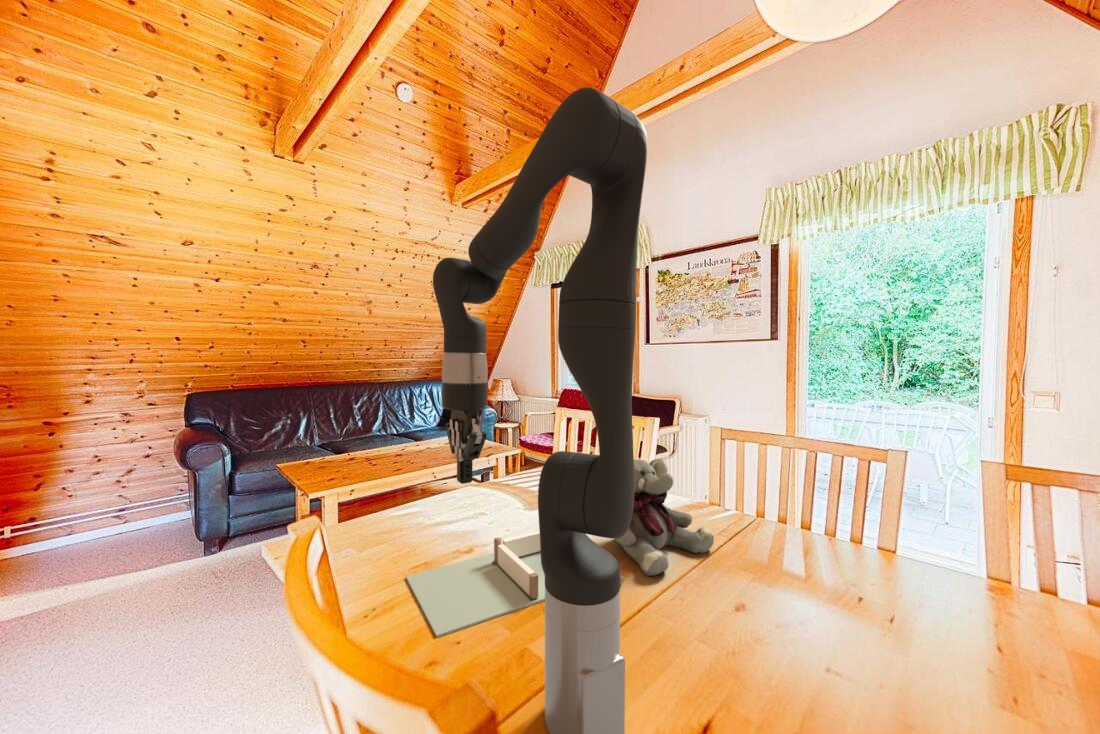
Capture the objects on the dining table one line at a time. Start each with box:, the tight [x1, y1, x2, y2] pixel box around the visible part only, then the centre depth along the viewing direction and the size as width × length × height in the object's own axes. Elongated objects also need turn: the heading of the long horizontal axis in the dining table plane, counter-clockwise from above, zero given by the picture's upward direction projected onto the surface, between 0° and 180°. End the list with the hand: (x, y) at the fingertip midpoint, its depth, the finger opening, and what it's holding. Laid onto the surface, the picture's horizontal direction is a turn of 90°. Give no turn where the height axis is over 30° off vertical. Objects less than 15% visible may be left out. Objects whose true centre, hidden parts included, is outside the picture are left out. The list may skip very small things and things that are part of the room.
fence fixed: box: [493, 530, 540, 564], centre depth 97 cm, size 2×16×6 cm, turn 121°
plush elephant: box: [613, 458, 715, 577], centre depth 103 cm, size 27×22×21 cm
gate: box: [498, 543, 538, 599], centre depth 86 cm, size 15×1×4 cm, turn 32°
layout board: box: [405, 551, 545, 638], centre depth 88 cm, size 21×33×1 cm, turn 121°
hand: (464, 481), depth 75 cm, fingers closed
